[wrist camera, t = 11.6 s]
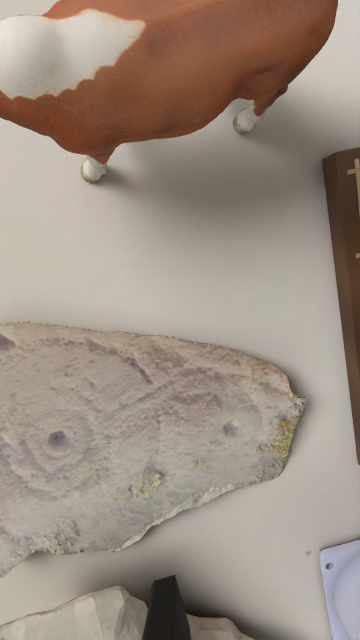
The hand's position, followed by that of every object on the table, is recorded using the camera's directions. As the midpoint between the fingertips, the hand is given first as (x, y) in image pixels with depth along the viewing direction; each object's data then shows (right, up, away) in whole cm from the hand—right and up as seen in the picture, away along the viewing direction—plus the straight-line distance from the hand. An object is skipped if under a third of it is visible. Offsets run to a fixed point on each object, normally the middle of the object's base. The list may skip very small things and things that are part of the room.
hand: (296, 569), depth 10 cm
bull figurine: (-5, +17, +6) cm, 19 cm away
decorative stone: (-7, +1, +9) cm, 11 cm away
